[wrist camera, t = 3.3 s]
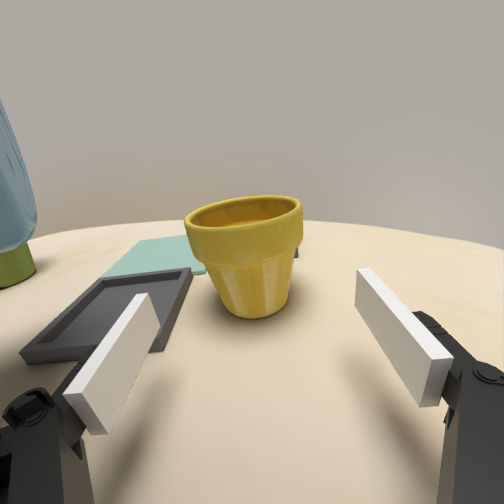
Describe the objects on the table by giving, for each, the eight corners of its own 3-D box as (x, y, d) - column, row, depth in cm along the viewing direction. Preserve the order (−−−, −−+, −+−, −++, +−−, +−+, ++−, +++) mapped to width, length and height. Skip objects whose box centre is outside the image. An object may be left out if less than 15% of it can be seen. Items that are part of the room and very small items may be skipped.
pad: (95, 286, 32) (93, 283, 32) (140, 243, 46) (139, 240, 45) (205, 273, 31) (204, 270, 31) (218, 233, 45) (217, 230, 45)
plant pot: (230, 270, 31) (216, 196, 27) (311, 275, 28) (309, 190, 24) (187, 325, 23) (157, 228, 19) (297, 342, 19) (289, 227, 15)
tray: (27, 365, 21) (18, 352, 20) (103, 287, 32) (99, 277, 31) (163, 350, 20) (158, 337, 20) (193, 277, 31) (190, 266, 30)
